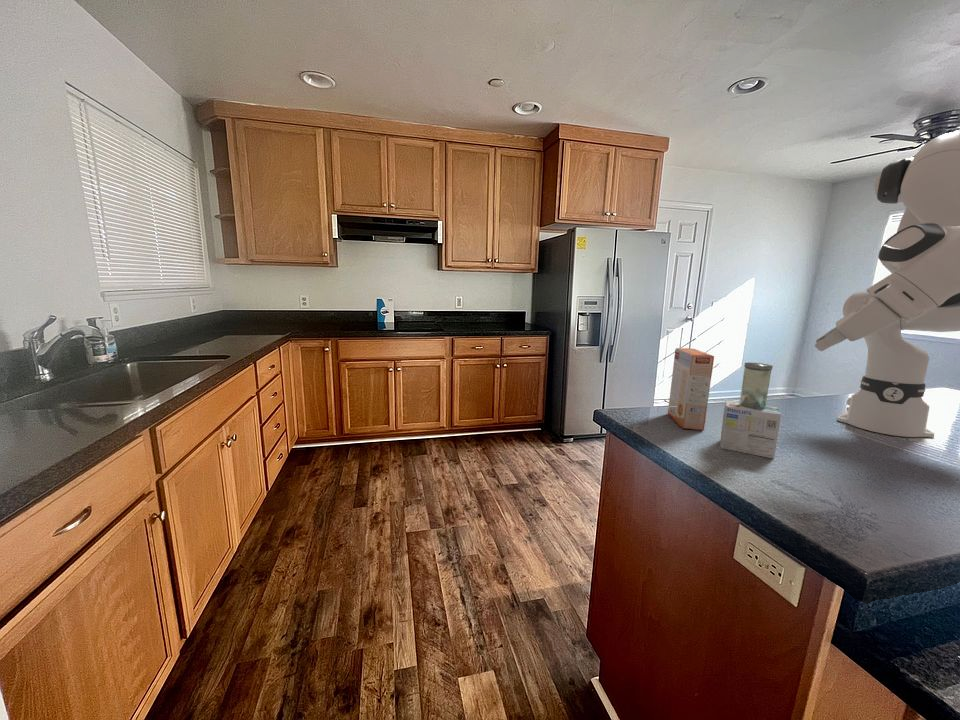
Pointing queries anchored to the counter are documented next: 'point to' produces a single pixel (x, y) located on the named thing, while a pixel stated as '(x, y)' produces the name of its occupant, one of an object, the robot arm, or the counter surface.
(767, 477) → the counter surface
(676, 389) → the cracker box
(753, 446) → the light bulb box
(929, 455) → the counter surface
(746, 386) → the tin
